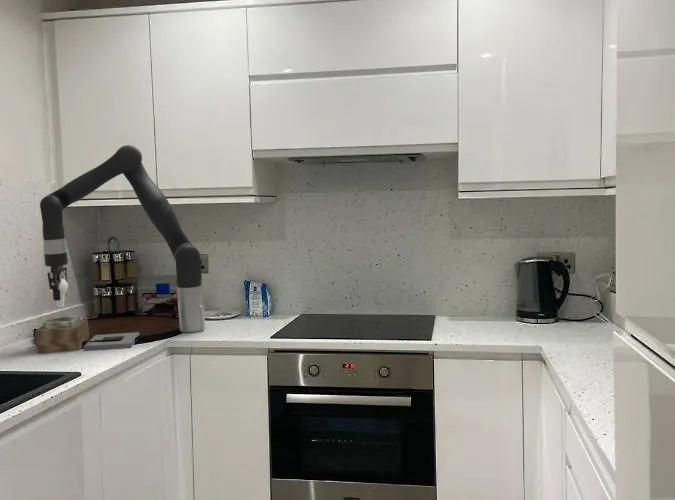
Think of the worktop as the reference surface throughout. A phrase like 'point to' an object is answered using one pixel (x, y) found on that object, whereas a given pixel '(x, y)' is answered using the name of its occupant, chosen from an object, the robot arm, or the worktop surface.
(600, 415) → the worktop surface
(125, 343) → the frame
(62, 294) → the lightbulb
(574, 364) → the worktop surface
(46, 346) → the raised socket
